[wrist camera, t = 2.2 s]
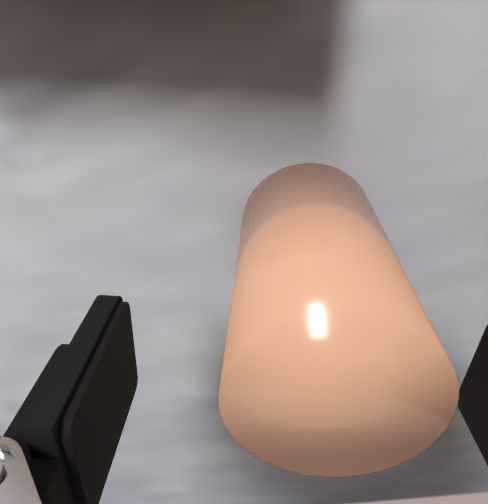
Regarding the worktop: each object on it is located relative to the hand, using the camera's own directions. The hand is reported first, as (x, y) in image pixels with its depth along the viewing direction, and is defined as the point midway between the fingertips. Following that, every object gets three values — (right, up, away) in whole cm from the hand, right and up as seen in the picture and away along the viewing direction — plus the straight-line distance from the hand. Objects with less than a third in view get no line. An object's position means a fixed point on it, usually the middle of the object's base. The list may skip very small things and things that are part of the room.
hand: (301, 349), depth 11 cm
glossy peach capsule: (+1, +4, +6) cm, 7 cm away
